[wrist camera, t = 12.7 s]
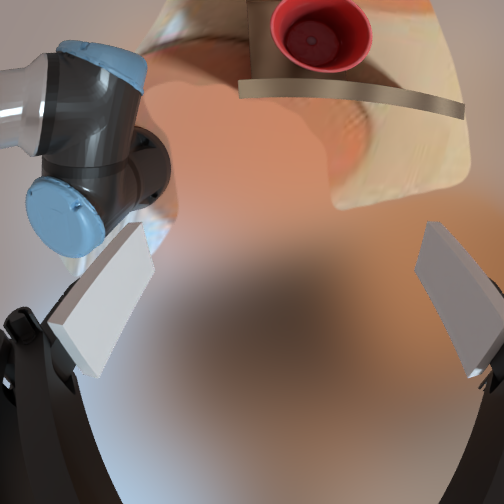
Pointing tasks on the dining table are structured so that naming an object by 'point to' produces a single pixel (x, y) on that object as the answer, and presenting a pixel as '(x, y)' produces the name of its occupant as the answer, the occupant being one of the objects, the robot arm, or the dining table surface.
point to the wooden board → (348, 93)
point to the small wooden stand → (274, 48)
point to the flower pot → (321, 33)
